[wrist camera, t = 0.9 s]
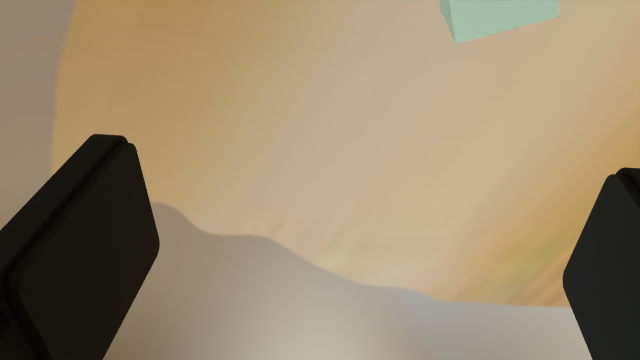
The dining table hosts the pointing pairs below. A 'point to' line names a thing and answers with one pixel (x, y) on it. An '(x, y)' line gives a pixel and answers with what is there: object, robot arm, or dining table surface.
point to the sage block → (493, 16)
